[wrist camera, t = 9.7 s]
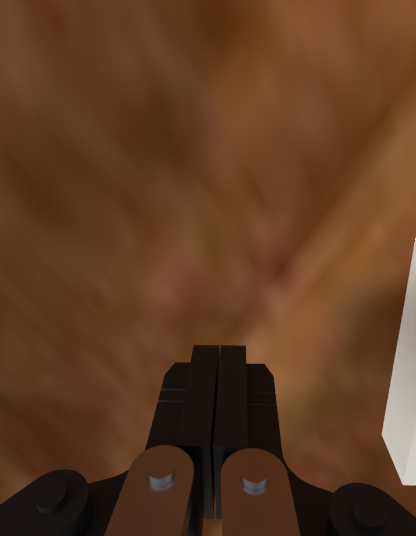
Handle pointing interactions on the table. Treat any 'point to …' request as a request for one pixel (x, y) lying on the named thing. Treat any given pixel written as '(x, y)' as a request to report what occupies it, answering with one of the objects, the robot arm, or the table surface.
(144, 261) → the table surface
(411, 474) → the t block
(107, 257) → the table surface
